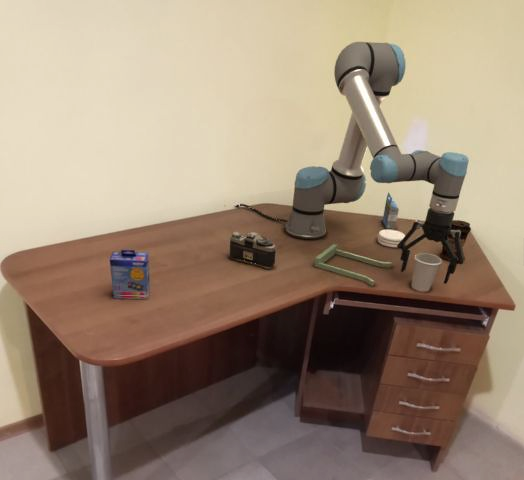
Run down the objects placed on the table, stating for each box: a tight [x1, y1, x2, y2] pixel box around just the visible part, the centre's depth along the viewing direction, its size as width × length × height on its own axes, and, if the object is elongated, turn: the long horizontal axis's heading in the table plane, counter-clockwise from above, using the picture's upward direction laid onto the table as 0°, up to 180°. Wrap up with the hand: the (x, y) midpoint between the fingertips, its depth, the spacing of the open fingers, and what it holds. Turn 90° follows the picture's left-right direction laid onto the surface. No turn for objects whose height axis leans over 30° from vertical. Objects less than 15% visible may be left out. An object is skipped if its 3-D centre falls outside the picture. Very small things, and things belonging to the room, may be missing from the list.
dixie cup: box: [411, 252, 443, 293], centre depth 162 cm, size 8×8×10 cm
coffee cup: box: [440, 219, 472, 261], centre depth 184 cm, size 9×8×13 cm
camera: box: [229, 231, 277, 270], centre depth 170 cm, size 16×10×10 cm, turn 65°
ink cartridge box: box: [109, 249, 151, 300], centre depth 143 cm, size 10×6×14 cm, turn 95°
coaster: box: [377, 229, 406, 249], centre depth 194 cm, size 10×10×4 cm
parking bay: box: [313, 243, 392, 287], centre depth 173 cm, size 21×18×3 cm
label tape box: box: [382, 191, 400, 230], centre depth 207 cm, size 9×4×12 cm, turn 179°
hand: (424, 276), depth 163 cm, fingers open, 13 cm apart
